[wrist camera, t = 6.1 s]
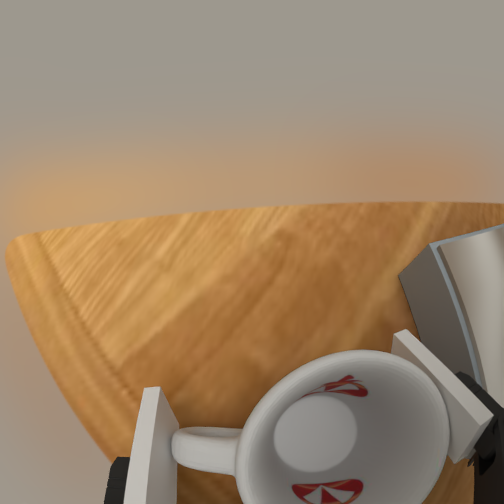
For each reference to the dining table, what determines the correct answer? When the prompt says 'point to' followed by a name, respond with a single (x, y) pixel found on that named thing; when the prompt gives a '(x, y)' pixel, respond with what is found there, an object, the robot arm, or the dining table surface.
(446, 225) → the dining table surface
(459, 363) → the grey flat block
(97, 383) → the dining table surface
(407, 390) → the cup
